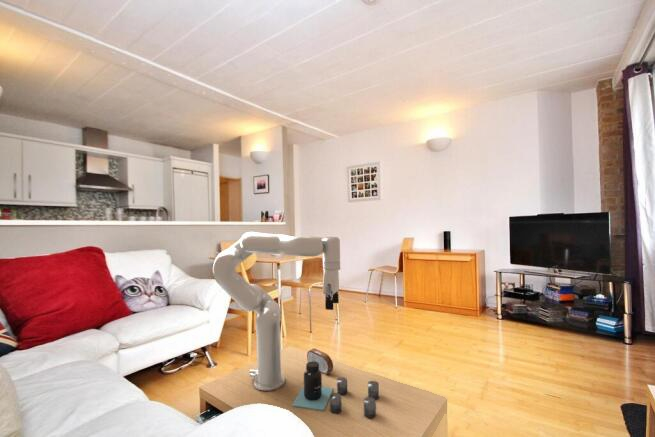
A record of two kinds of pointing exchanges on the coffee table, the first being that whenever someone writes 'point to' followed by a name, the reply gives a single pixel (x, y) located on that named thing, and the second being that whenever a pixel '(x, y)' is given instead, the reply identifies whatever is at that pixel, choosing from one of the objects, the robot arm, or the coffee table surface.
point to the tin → (320, 360)
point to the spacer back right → (373, 389)
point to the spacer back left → (342, 386)
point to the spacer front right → (370, 408)
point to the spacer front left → (335, 403)
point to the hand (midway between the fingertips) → (332, 306)
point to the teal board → (313, 404)
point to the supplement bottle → (312, 381)
